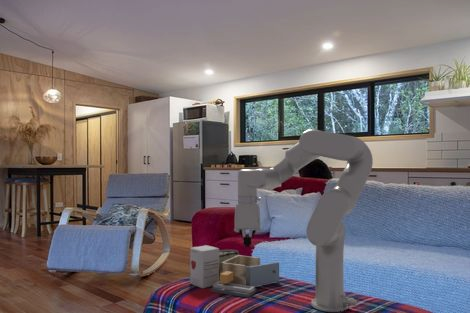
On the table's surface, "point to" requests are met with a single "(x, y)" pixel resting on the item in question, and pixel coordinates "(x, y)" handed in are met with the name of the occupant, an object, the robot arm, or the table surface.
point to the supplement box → (204, 266)
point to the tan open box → (239, 267)
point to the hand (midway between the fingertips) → (247, 246)
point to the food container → (226, 255)
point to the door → (262, 274)
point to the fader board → (234, 289)
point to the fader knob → (226, 277)
